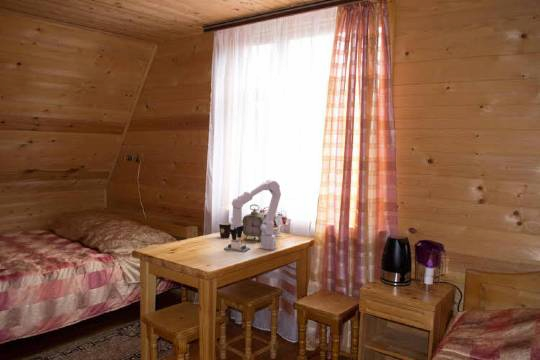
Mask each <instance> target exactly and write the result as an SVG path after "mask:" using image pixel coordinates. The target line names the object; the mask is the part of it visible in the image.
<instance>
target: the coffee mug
mask: <svg viewBox="0 0 540 360" xmlns="http://www.w3.org/2000/svg"><path fill="white" fill-rule="evenodd" d="M231 224H232V223H231V222H227V221H225V222H223V221H222V222H219V224H218V225H219V236H220V237H219V238H221V239H230V238H229V237H230V236H231V233H230V231H229V229H230V228H231V226H232V225H231Z"/></svg>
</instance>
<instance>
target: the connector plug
mask: <svg viewBox="0 0 540 360" xmlns="http://www.w3.org/2000/svg"><path fill="white" fill-rule="evenodd" d="M230 244H231V248H234V249H240V248H241V247H242V240H241V239H237V238H236V240H231V243H230Z"/></svg>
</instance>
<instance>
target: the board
mask: <svg viewBox="0 0 540 360" xmlns="http://www.w3.org/2000/svg"><path fill="white" fill-rule="evenodd" d="M223 250H224V251H231V252H238V253H246V252H248V251H250V250H251V247H248V246H247V245H246V244H244V245H241V248H240V249H234V248H231V243H228V245H227V246H226V247H224V248H223Z"/></svg>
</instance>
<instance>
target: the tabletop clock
mask: <svg viewBox="0 0 540 360" xmlns="http://www.w3.org/2000/svg"><path fill="white" fill-rule="evenodd" d="M252 206H255V207H258V208H257V209H256V208H251V207H252ZM249 209H250V210H251V213H249V214H246V215H244V216H243V217H242V223H243V226H244V229H243V231H242V234H243V235H244V236H245V237H244V238H243V239H244V240H245V241H246V240H247V238H248V237H253V240H256V238H257V237H258V241H259V242H261V233H262V231H261V229H260V227H261V225H262V224H263V221H264V220H265V219H266V217H265V216H264V215H262V214H259V213H258V211H259V210H260V205H258V204H250V205H249Z"/></svg>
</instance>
